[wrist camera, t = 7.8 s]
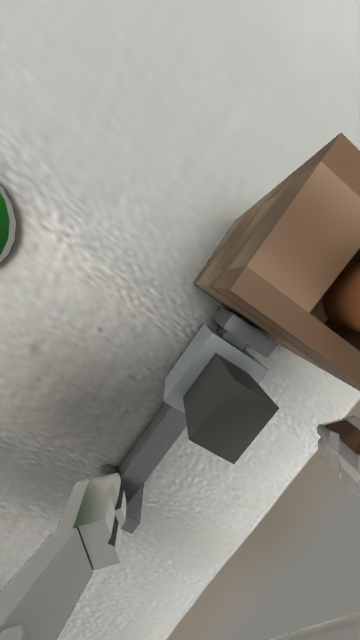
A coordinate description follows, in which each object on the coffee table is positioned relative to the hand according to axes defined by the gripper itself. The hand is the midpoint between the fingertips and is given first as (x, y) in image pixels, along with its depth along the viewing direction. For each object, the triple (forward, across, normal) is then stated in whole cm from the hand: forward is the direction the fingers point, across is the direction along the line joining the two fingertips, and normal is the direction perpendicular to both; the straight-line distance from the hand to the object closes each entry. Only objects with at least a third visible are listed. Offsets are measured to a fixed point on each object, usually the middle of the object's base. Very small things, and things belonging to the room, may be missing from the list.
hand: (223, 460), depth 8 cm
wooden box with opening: (+10, -7, -5) cm, 14 cm away
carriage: (+10, -2, +1) cm, 10 cm away
